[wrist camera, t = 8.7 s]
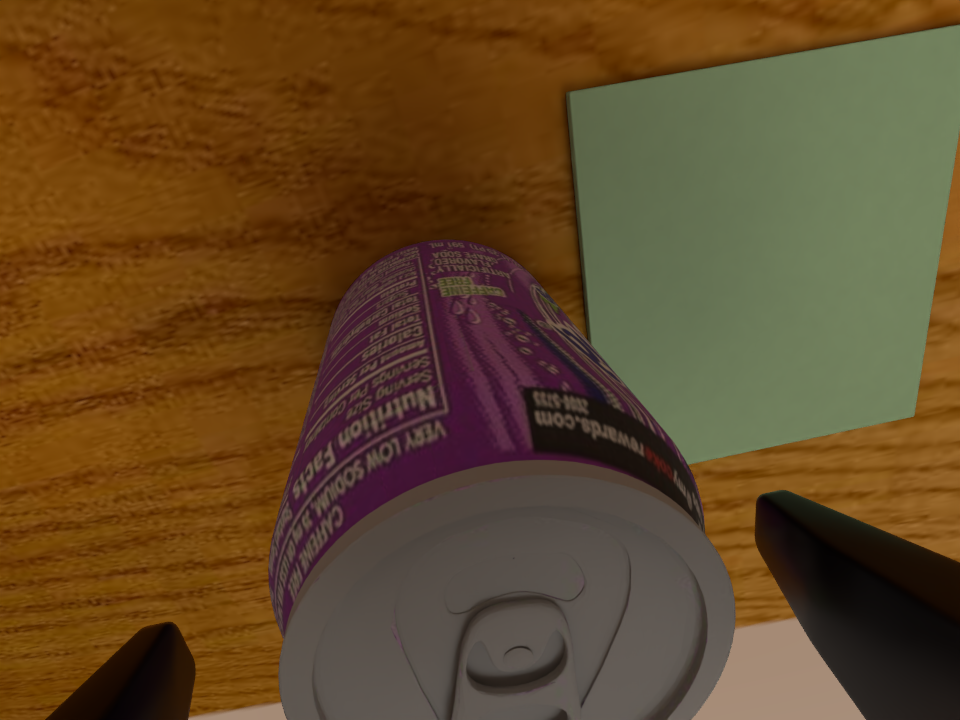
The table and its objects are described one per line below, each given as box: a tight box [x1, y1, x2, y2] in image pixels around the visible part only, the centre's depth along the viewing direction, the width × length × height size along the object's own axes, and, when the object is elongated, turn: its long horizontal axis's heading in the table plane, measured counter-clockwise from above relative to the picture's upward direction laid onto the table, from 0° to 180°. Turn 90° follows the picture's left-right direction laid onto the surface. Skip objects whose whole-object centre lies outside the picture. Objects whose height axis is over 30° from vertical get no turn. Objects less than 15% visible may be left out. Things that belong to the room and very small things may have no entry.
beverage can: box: [269, 240, 735, 720], centre depth 13 cm, size 7×7×12 cm
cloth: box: [566, 24, 960, 464], centre depth 19 cm, size 13×12×1 cm
